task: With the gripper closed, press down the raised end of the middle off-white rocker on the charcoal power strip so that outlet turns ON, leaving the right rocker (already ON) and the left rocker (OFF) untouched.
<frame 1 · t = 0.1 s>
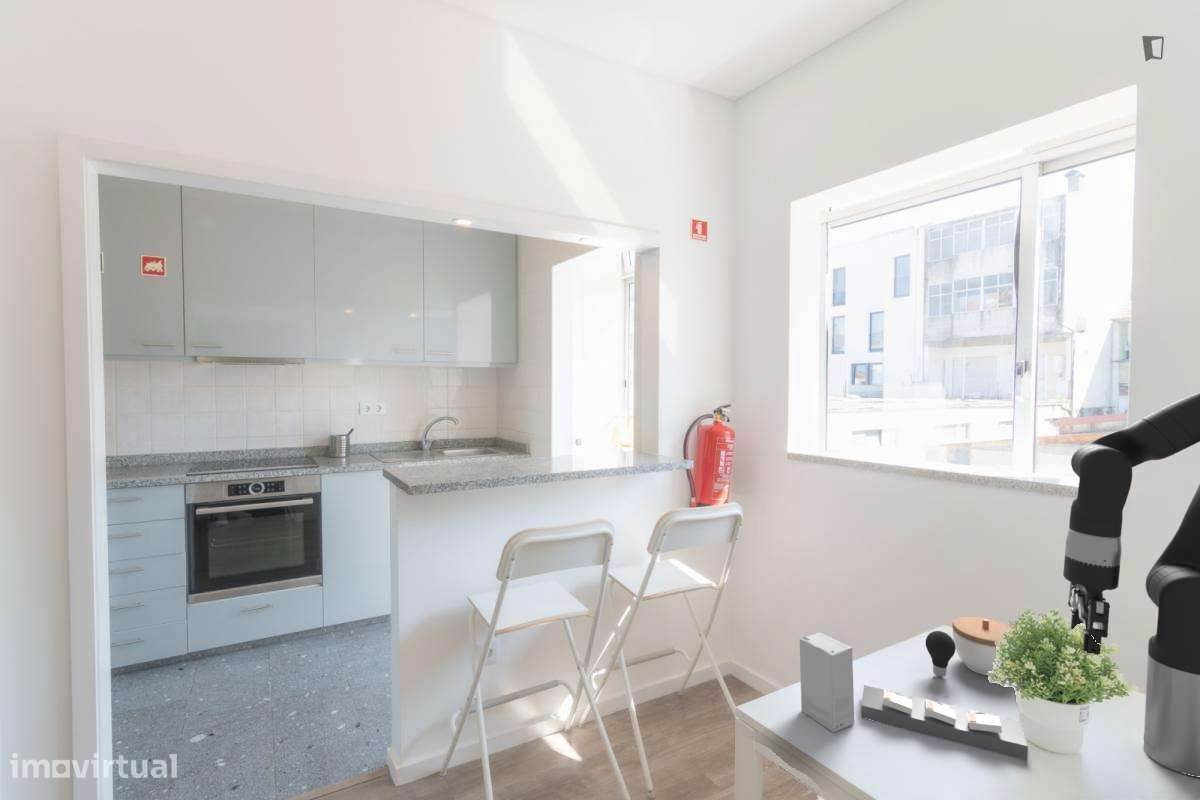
hand: (1084, 645, 104), 17 cm above the table, tool pointing down, fingers open, 8 cm apart
skincare box: (825, 718, 111), on the table
lidded bowl: (984, 669, 129), on the table
rocker 2: (984, 722, 103), point 4 cm above the table, hinge at 9.0°
rocker middle: (940, 711, 107), point 4 cm above the table, hinge at -9.0°
rocker 1: (897, 701, 110), point 4 cm above the table, hinge at -9.0°
power strip: (938, 725, 109), on the table
light bulb: (939, 677, 126), on the table
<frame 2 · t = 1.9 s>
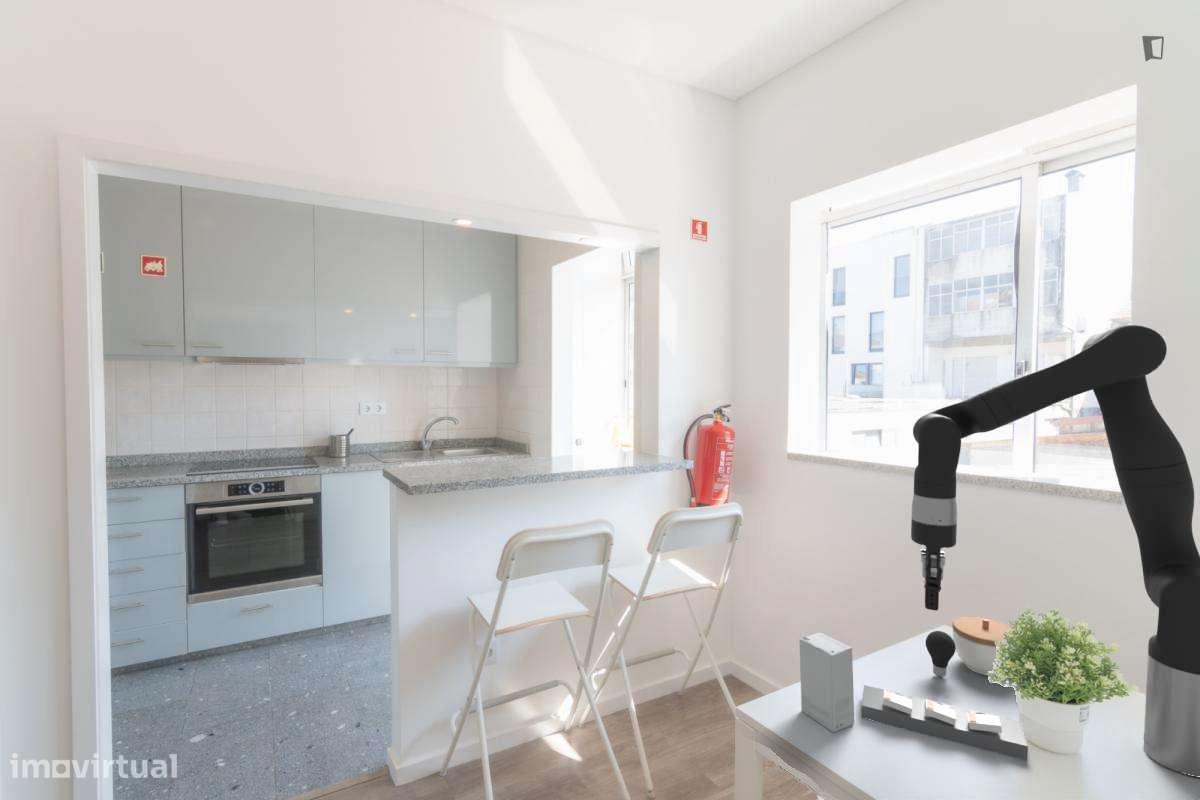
hand: (931, 606, 112), 21 cm above the table, tool pointing down, fingers closed
nothing on the table moved.
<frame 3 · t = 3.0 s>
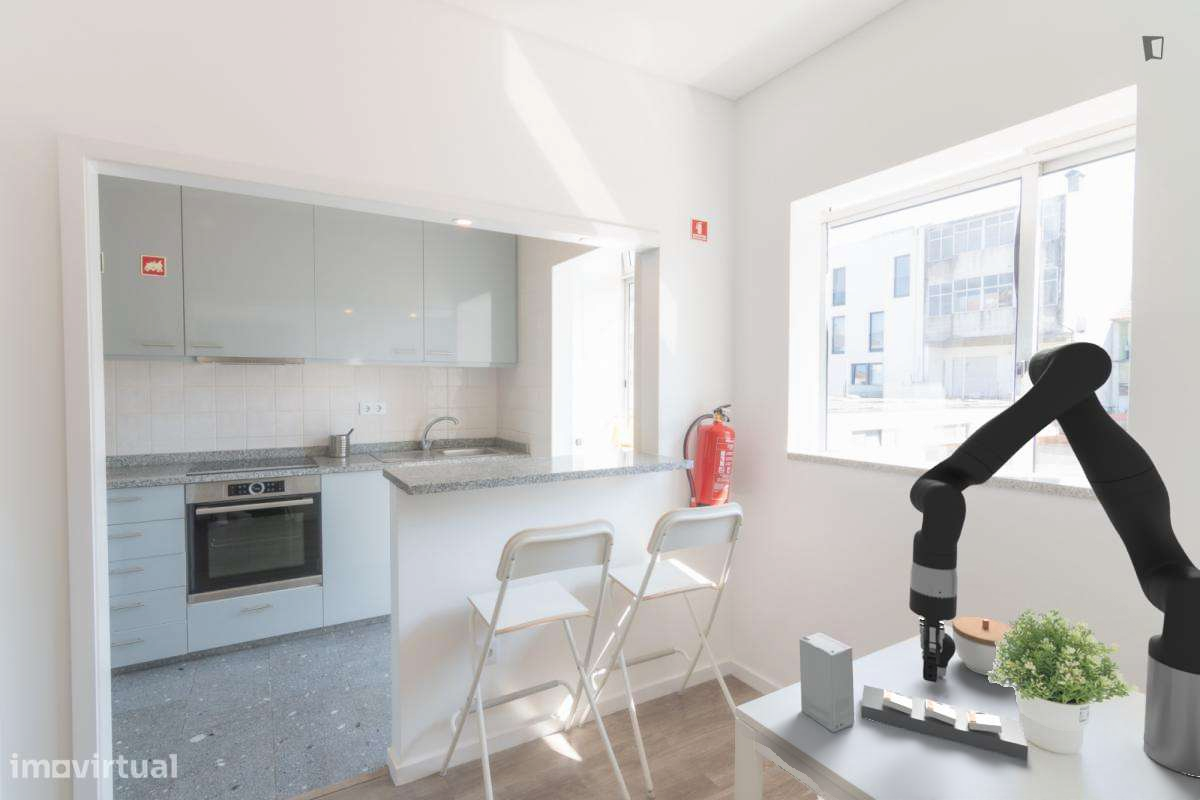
hand: (929, 679, 107), 10 cm above the table, tool pointing down, fingers closed
nothing on the table moved.
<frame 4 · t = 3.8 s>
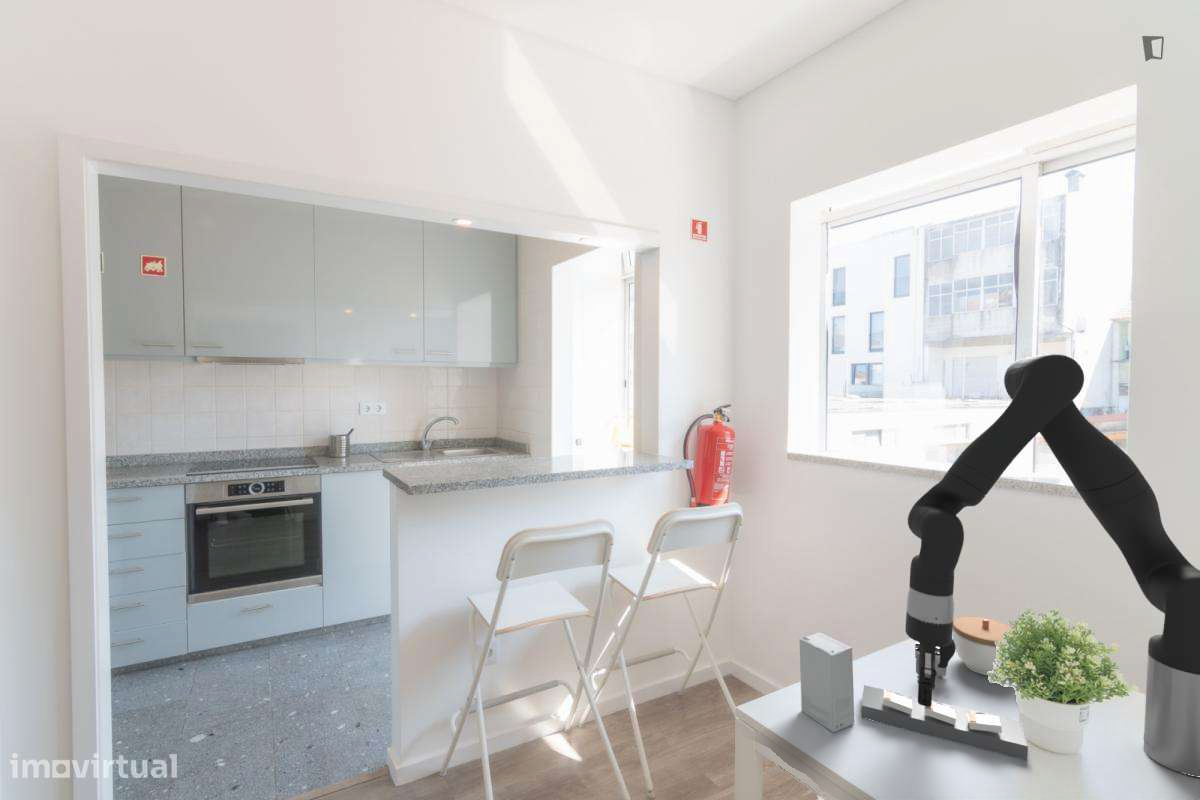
hand: (924, 703, 108), 5 cm above the table, tool pointing down, fingers closed
rocker middle: (940, 711, 107), point 4 cm above the table, hinge at -7.5°, touching gripper
everything else where it was.
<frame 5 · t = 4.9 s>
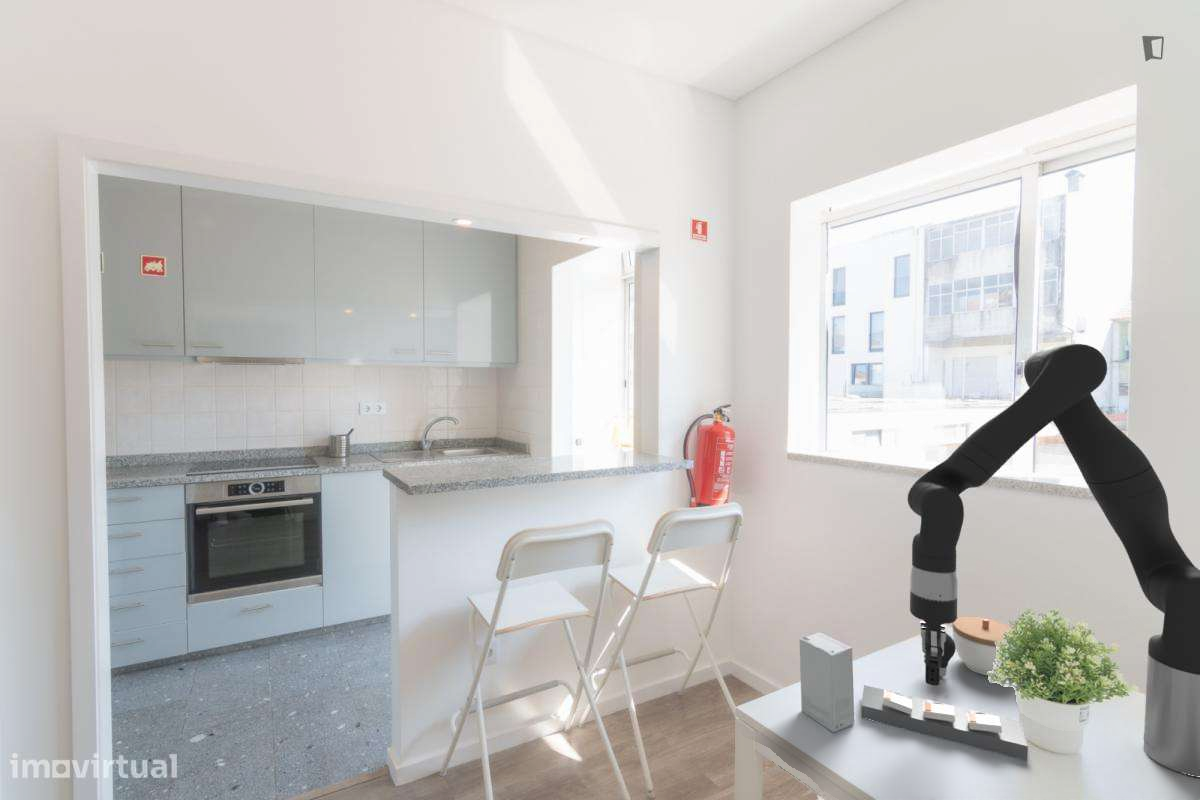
hand: (932, 683, 107), 9 cm above the table, tool pointing down, fingers closed
rocker middle: (938, 711, 107), point 4 cm above the table, hinge at 6.8°
everything else where it was.
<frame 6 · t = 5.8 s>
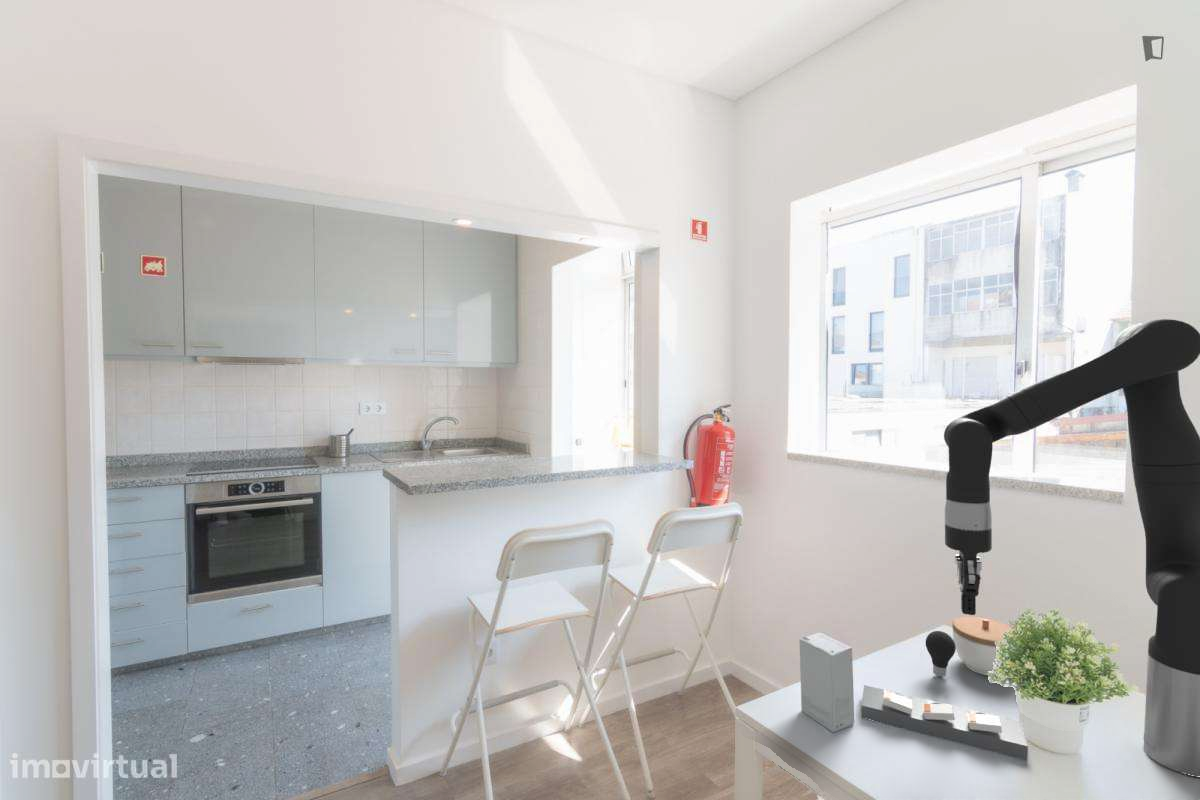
hand: (968, 612, 111), 20 cm above the table, tool pointing down, fingers closed
rocker middle: (938, 711, 107), point 4 cm above the table, hinge at 13.9°
everything else where it was.
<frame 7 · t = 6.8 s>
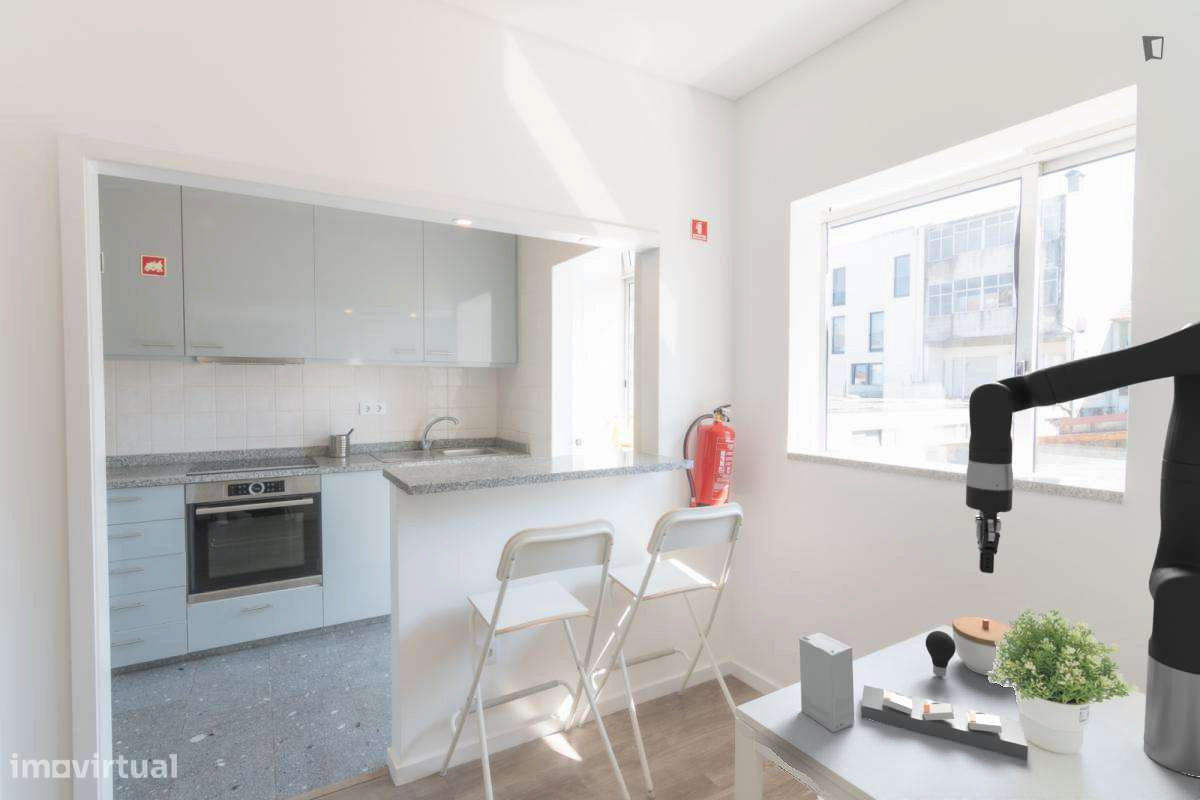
hand: (986, 571, 114), 27 cm above the table, tool pointing down, fingers closed
rocker middle: (938, 711, 107), point 4 cm above the table, hinge at 19.6°, touching power strip
everything else where it was.
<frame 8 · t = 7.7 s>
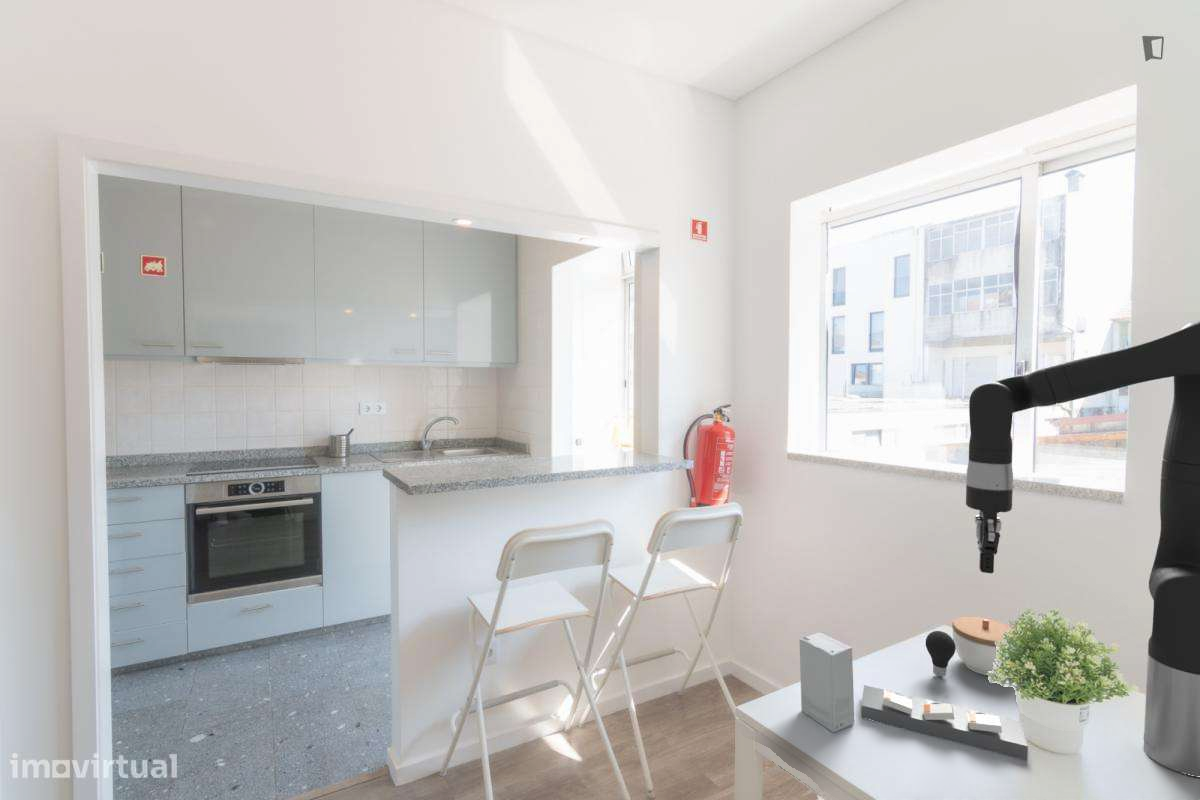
hand: (986, 571, 114), 27 cm above the table, tool pointing down, fingers closed
rocker middle: (938, 711, 107), point 4 cm above the table, hinge at 17.1°, touching power strip
everything else where it was.
at the end: rocker middle at +17° (first picture: -9°); rocker 2 at +9° (first picture: +9°); rocker 1 at -9° (first picture: -9°) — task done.
